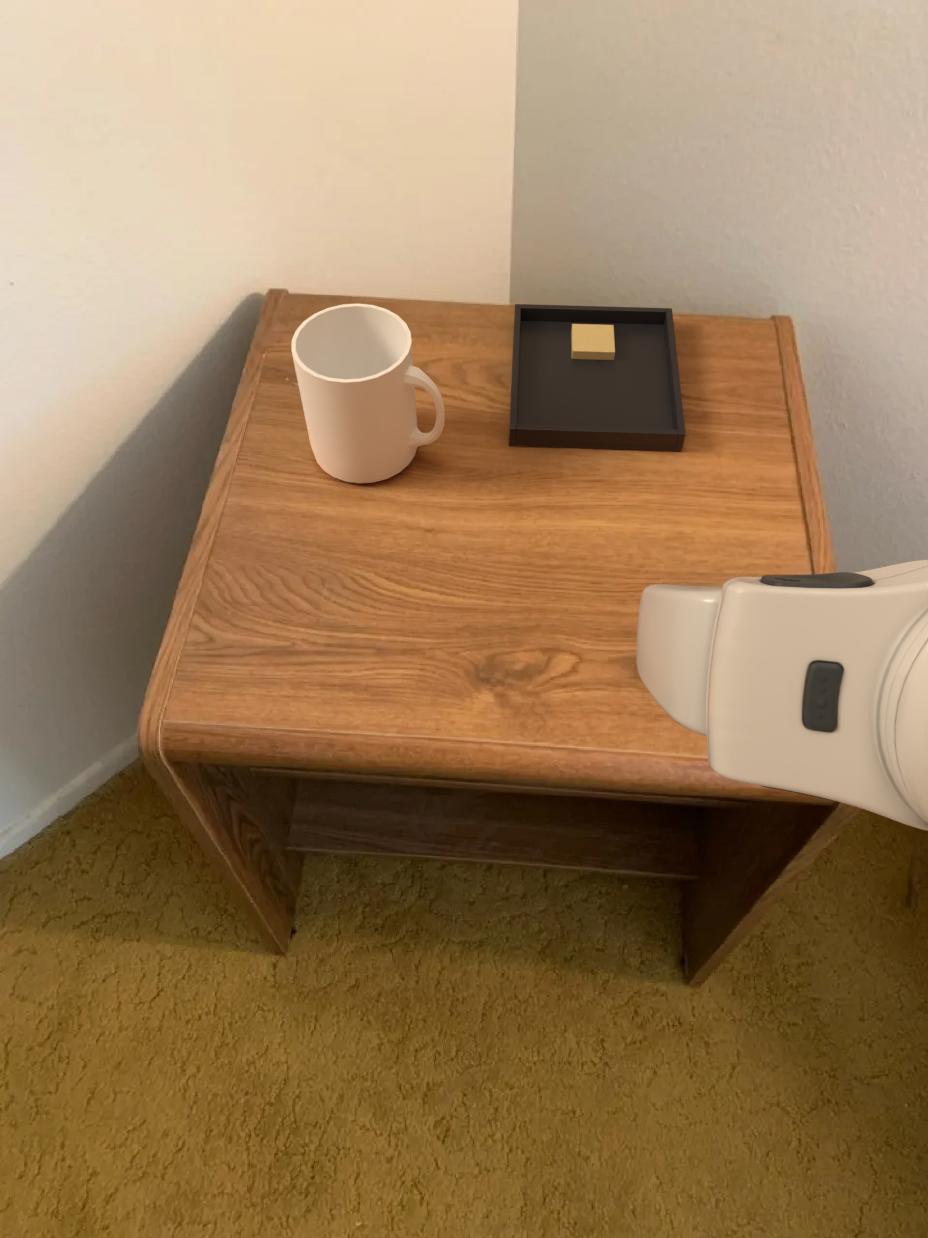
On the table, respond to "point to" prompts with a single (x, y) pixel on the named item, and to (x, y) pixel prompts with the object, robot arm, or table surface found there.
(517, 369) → the black tray
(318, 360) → the mug
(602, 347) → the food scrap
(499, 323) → the table surface
